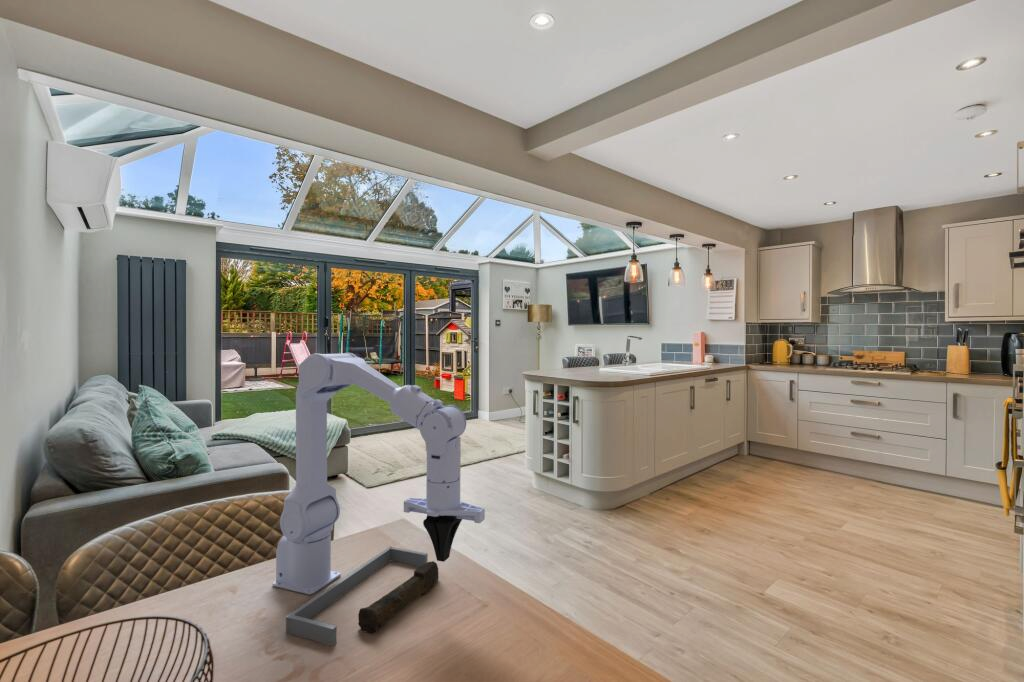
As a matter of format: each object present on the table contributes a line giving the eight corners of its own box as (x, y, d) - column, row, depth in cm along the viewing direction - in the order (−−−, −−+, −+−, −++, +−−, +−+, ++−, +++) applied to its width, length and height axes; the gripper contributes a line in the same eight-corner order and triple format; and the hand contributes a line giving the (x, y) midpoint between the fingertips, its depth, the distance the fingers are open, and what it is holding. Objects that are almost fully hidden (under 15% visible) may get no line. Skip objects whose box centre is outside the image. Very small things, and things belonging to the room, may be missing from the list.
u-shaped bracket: (285, 632, 75) (285, 616, 75) (389, 558, 100) (389, 546, 100) (332, 646, 71) (332, 629, 71) (427, 565, 97) (427, 553, 97)
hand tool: (374, 639, 74) (375, 609, 74) (356, 631, 76) (356, 601, 76) (449, 585, 90) (449, 561, 90) (432, 580, 92) (433, 556, 92)
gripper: (393, 480, 79) (393, 561, 79) (472, 490, 74) (471, 577, 74) (416, 469, 86) (415, 544, 86) (489, 478, 81) (489, 557, 81)
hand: (443, 558), depth 80 cm, fingers closed
